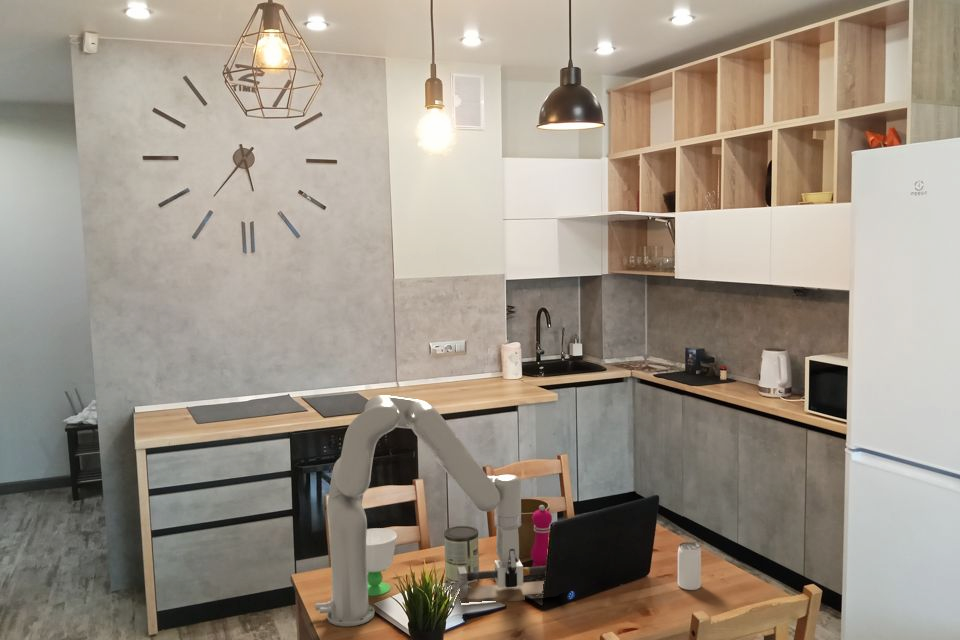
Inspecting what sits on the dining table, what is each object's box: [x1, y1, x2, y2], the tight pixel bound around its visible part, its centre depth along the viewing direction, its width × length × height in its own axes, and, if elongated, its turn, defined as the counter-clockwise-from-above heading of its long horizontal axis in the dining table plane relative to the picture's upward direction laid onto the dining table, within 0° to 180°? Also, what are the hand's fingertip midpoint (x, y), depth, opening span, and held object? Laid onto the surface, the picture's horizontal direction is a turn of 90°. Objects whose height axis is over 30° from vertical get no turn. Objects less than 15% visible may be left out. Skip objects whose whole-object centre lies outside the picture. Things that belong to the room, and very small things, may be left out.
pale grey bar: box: [457, 566, 546, 604], centre depth 226 cm, size 28×8×8 cm, turn 100°
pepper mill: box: [530, 505, 553, 567], centre depth 244 cm, size 7×7×20 cm
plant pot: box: [518, 497, 550, 559], centre depth 256 cm, size 15×15×16 cm
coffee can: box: [443, 525, 480, 585], centre depth 239 cm, size 10×10×14 cm
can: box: [677, 541, 702, 591], centre depth 230 cm, size 6×6×12 cm
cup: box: [366, 527, 398, 597], centre depth 232 cm, size 14×14×16 cm
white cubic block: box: [494, 559, 524, 588], centre depth 226 cm, size 7×6×6 cm
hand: (508, 581), depth 226 cm, fingers closed on white cubic block, 5 cm apart
